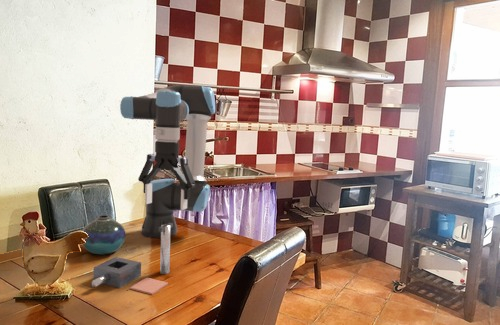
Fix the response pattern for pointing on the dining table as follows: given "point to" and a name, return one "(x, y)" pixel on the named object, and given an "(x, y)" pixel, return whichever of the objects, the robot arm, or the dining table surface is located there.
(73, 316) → the dining table surface
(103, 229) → the vase
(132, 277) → the chuck block
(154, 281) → the mat
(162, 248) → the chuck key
